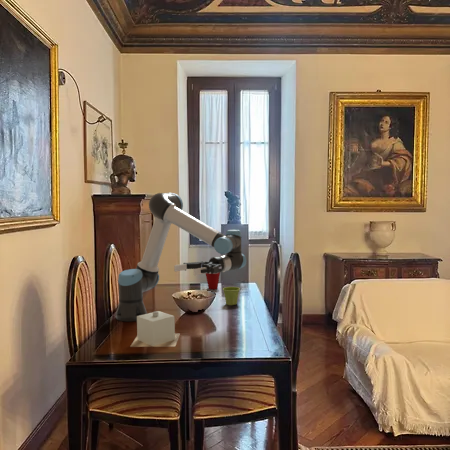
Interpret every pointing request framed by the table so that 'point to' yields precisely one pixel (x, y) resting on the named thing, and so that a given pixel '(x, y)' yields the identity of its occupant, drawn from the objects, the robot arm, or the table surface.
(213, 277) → the plastic cup
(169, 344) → the maple board
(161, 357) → the table surface
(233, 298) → the plant pot
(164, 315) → the white cube
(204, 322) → the table surface
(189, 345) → the table surface
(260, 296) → the table surface
